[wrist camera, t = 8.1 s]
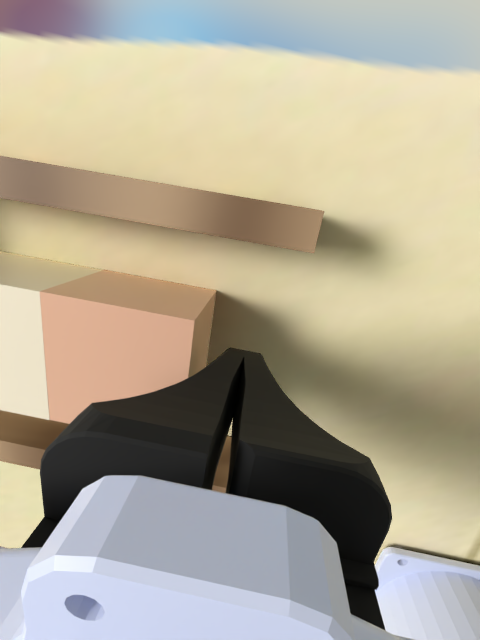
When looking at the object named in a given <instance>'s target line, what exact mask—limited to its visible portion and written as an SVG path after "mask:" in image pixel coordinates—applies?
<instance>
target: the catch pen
mask: <svg viewBox="0 0 480 640" xmlns="http://www.w3.org/2000/svg"><path fill="white" fill-rule="evenodd" d="M0 198H4V199H9V200H15V201H21V202H26V203H32V204H38V205H43V206H49V207H55V208H60V209H66V210H72V211H77V212H83V213H89V214H94V215H100V216H106V217H111V218H117V219H123V220H128V221H134V222H140V223H145V224H151V225H157V226H163V227H168V228H174V229H180V230H185V231H191V232H197V233H202V234H208V235H214V236H219V237H225V238H231V239H236V240H242V241H248V242H253V243H259V244H265V245H270V246H276V247H282V248H287V249H293V250H299V251H304V252H310V253H314V251H315V247H316V243H317V239H318V235H319V231H320V227H321V222H322V218H323V214H324V211H321V210H315V209H309V208H303V207H297V206H292V205H286V204H280V203H274V202H268V201H262V200H256V199H250V198H245V197H239V196H233V195H227V194H221V193H215V192H209V191H204V190H198V189H192V188H186V187H180V186H174V185H168V184H162V183H157V182H151V181H145V180H139V179H133V178H127V177H121V176H115V175H110V174H104V173H98V172H92V171H86V170H80V169H74V168H68V167H63V166H57V165H51V164H45V163H39V162H33V161H27V160H21V159H16V158H10V157H4V156H0ZM68 425H69V424H68V423H63V422H58V421H53V420H47V419H42V418H37V417H32V416H27V415H22V414H17V413H12V412H7V411H2V410H0V461H3V462H8V463H13V464H17V465H22V466H27V467H31V468H36V469H40V466H41V459H42V457H43V454H44V452H45V450H46V448H47V447H48V446H49V445H50V444H51V443H52V442H53V441H54V440H55V439H56V438H57V437H58V436H59V435H60V434H61V432H62V431H63V430H64V429H65V428H66V427H67V426H68ZM230 450H231V437H230V436H227V438H226V441H225V444H224V447H223V450H222V453H221V457H220V460H219V463H218V466H217V470H216V474H215V478H214V483H213V487H212V490H213V491H218V492H222V493H226V487H227V481H228V473H229V464H230Z"/></svg>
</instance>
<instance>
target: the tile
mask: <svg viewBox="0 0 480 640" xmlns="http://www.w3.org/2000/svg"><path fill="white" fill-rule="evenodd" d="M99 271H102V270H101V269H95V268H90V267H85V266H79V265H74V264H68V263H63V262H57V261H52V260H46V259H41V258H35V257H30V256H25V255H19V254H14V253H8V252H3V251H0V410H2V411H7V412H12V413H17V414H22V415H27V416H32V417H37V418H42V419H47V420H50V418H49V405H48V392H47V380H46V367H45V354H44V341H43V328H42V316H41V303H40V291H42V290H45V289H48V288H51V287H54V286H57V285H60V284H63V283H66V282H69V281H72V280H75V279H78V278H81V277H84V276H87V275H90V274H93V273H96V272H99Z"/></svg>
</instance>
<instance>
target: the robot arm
mask: <svg viewBox="0 0 480 640" xmlns="http://www.w3.org/2000/svg"><path fill="white" fill-rule="evenodd" d="M232 418H233V424H232V437H231V450H230V464H229V473H228V481H227V487H226V493H222V492H218V491H213V490H212V487H213V483H214V478H215V474H216V470H217V466H218V463H219V460H220V457H221V453H222V450H223V447H224V444H225V441H226V438H227V434H228V431H229V428H230V425H231V422H232ZM40 477H41V486H42V496H43V506H44V516H45V517H44V518H43V519H42V521H41V522H40V523H39V525H38V526H37V527H36V529H35V530H34V531H33V533H32V534H31V535H30V537H29V538H28V539H27V541H26V542H25V543H24V545H23V546H22V547H21V548H5V547H1V546H0V640H480V566H479V565H474V564H470V563H465V562H460V561H456V560H451V559H446V558H442V557H437V556H432V555H428V554H423V553H418V552H414V551H409V550H404V549H399V548H395V547H387V548H385V549H384V550H383V551H382V552H381V554H380V556H379V558H378V560H377V562H376V564H375V566H374V560H375V558H376V556H377V553H378V551H379V549H380V547H381V545H382V543H383V541H384V539H385V537H386V535H387V533H388V531H389V527H390V524H391V520H392V513H391V504H390V502H389V500H388V497H387V495H386V492H385V490H384V487H383V485H382V482H381V480H380V478H379V475H378V474H377V472H376V470H375V468H374V466H373V464H372V462H371V460H370V458H368V457H367V456H365V455H363V454H361V453H360V452H358V451H356V450H354V449H353V448H351V447H349V446H347V445H346V444H344V443H342V442H341V441H339V440H337V439H336V438H335V437H333V436H332V435H330V434H329V433H327V432H326V431H324V430H323V429H322V428H320V427H319V426H318V425H317V424H315V423H314V422H313V421H312V420H311V419H309V418H308V417H307V416H306V415H305V414H304V413H302V412H301V411H300V410H299V409H298V408H297V407H296V406H295V405H294V404H293V402H292V401H291V400H290V399H289V398H288V397H287V396H286V395H285V393H284V392H283V391H282V390H281V388H280V387H279V385H278V384H277V382H276V381H275V379H274V377H273V376H272V374H271V372H270V371H269V369H268V367H267V365H266V363H265V361H264V358H263V356H262V355H261V353H255V352H250V351H245V350H239V349H234V348H229V349H227V350H226V351H225V352H224V353H223V354H222V355H221V356H219V357H218V358H217V359H216V360H215V361H213V362H212V363H211V364H209V365H208V366H207V367H205V368H204V369H202V370H201V371H199V372H198V373H196V374H194V375H193V376H191V377H189V378H187V379H185V380H183V381H181V382H179V383H176V384H174V385H171V386H168V387H166V388H163V389H160V390H157V391H154V392H150V393H147V394H143V395H139V396H134V397H130V398H124V399H118V400H110V401H103V402H95V403H91V404H90V405H89V406H88V407H87V408H86V409H85V410H83V411H82V412H81V413H80V414H79V415H78V416H77V417H76V418H75V419H74V420H73V421H72V422H71V423H70V424H69V425H68V426H67V427H66V428H65V429H64V430H63V431H62V432H61V434H60V435H59V436H58V437H57V438H56V439H55V440H54V441H53V442H52V443H51V444H50V445H49V446H48V447H47V448H46V450H45V452H44V454H43V457H42V459H41V466H40Z"/></svg>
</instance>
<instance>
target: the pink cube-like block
mask: <svg viewBox="0 0 480 640" xmlns="http://www.w3.org/2000/svg"><path fill="white" fill-rule="evenodd" d="M216 291H217V290H212V289H206V288H201V287H195V286H190V285H184V284H179V283H174V282H168V281H163V280H157V279H152V278H146V277H141V276H135V275H130V274H124V273H119V272H114V271H108V270H102V271H99V272H96V273H93V274H90V275H87V276H84V277H81V278H78V279H75V280H72V281H69V282H66V283H63V284H60V285H57V286H54V287H51V288H48V289H45V290H42V291H40V303H41V316H42V328H43V341H44V354H45V367H46V380H47V392H48V405H49V418H50V420H53V421H58V422H63V423H68V424H70V423H71V422H72V421H73V420H74V419H75V418H76V417H77V416H78V415H79V414H80V413H81V412H82V411H83V410H85V409H86V408H87V407H88V406H89V405H90V404H91V403H95V402H103V401H110V400H118V399H124V398H130V397H134V396H139V395H143V394H147V393H150V392H154V391H157V390H160V389H163V388H166V387H168V386H171V385H174V384H176V383H179V382H181V381H183V380H185V379H187V378H189V377H191V376H193V375H194V374H196V373H198V372H199V371H201V370H202V369H204V368H205V367H206V364H207V357H208V350H209V343H210V335H211V328H212V321H213V313H214V306H215V299H216Z"/></svg>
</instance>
